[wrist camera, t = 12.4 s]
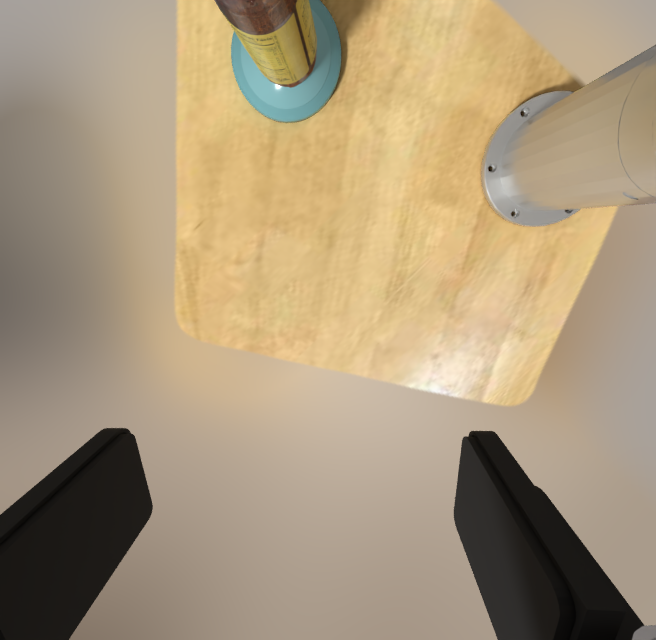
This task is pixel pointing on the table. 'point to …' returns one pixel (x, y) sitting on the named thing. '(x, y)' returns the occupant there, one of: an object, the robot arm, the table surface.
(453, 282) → the table surface
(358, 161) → the table surface
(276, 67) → the sauce bottle
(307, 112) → the coaster
